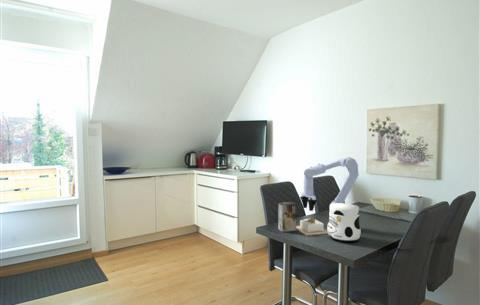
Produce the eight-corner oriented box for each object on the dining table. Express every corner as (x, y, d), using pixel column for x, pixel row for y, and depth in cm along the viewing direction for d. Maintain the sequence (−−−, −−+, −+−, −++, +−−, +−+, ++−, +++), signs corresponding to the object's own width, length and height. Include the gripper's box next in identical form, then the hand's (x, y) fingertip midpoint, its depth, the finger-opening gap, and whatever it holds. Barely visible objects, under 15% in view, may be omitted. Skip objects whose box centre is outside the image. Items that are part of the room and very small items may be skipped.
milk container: (321, 238, 168) (321, 205, 167) (336, 231, 180) (337, 201, 179) (351, 246, 156) (352, 211, 155) (365, 238, 168) (366, 206, 167)
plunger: (313, 225, 188) (314, 216, 187) (320, 229, 181) (320, 219, 180) (303, 226, 186) (303, 217, 185) (309, 230, 179) (309, 220, 178)
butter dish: (316, 225, 194) (316, 217, 193) (331, 233, 177) (331, 224, 177) (292, 227, 189) (293, 219, 189) (306, 235, 173) (306, 226, 173)
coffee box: (291, 227, 187) (292, 201, 187) (296, 230, 181) (296, 204, 181) (277, 228, 185) (278, 202, 184) (282, 232, 179) (282, 204, 178)
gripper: (297, 186, 197) (296, 207, 198) (308, 189, 183) (308, 212, 184) (307, 185, 199) (306, 206, 200) (319, 189, 185) (318, 211, 186)
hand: (308, 209), depth 192 cm, fingers open, 7 cm apart
